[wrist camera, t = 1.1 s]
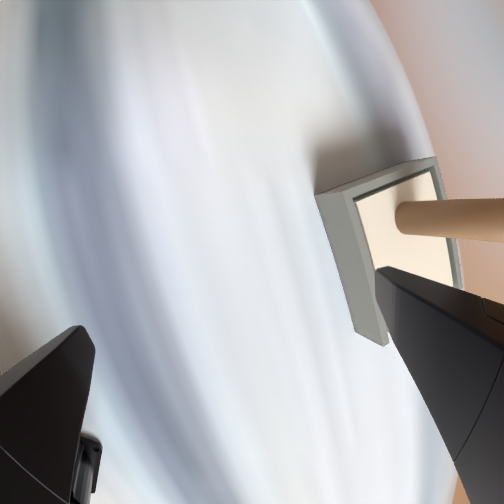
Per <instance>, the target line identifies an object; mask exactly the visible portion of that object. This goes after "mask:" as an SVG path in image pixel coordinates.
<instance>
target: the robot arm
mask: <svg viewBox="0 0 504 504" xmlns="http://www.w3.org/2000/svg"><path fill="white" fill-rule="evenodd" d="M375 297H376V301H377V304H378V306H379V308H380V311H381V313H382V315H383V318H384V320H385V323H386V325H387V328H388V330H389V333H390V335H391V337H392V340H393V342H394V344H395V346H396V348H397V350H398V351H399V353H400V355H401V357H402V359H403V361H404V363H405V364H406V366H407V368H408V370H409V372H410V374H411V376H412V378H413V380H414V381H415V383H416V385H417V387H418V389H419V391H420V393H421V395H422V397H423V399H424V401H425V403H426V405H427V407H428V409H429V411H430V413H431V415H432V417H433V419H434V421H435V423H436V425H437V428H438V430H439V432H440V434H441V436H442V438H443V440H444V443H445V445H446V447H447V449H448V451H449V453H450V456H451V458H452V460H453V462H454V465H455V467H456V470H457V472H458V474H459V477H460V479H461V482H462V484H463V486H464V489H465V491H466V494H467V496H468V499H469V501H470V504H504V305H503V304H500V303H497V302H494V301H491V300H489V299H486V298H481V297H480V296H477V295H474V294H471V293H468V292H466V291H463V290H460V289H457V288H454V287H451V286H448V285H445V284H442V283H439V282H436V281H433V280H430V279H427V278H424V277H421V276H418V275H415V274H412V273H409V272H406V271H403V270H400V269H397V268H394V267H391V266H385V267H381V268H377V269H376V270H375ZM94 358H95V346H94V344H93V342H92V340H91V338H90V337H89V335H88V333H87V331H86V329H85V328H84V327H83V326H81V325H78V326H72V327H70V328H68V329H67V330H65V331H64V332H62V333H61V334H60V335H58V336H57V337H55V338H54V339H52V340H51V341H49V342H48V343H47V344H45V345H44V346H42V347H41V348H39V349H38V350H36V351H35V352H34V353H32V354H31V355H29V356H28V357H27V358H25V359H24V360H22V361H21V362H19V363H18V364H17V365H15V366H14V367H12V368H11V369H10V370H8V371H7V372H5V373H4V374H3V375H1V376H0V504H90V495H91V493H95V490H96V483H97V477H98V471H99V465H100V460H101V454H102V445H101V444H100V443H97V442H94V441H91V440H88V439H85V438H82V437H80V433H81V428H82V423H83V418H84V414H85V409H86V405H87V400H88V396H89V391H90V385H91V378H92V371H93V364H94ZM94 447H96V448H98V449H95V448H94Z"/></svg>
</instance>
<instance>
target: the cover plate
mask: <svg viewBox="0 0 504 504" xmlns="http://www.w3.org/2000/svg"><path fill="white" fill-rule="evenodd" d="M353 202H354V205H355V208H356V211H357V215H358V218H359V221H360V225H361V228H362V232H363V235H364V239H365V242H366V246H367V250H368V253H369V257H370V261H371V265H372V268H373V272H374V276H375V270H376V269H377V268H381V267H385V266H391V267H394V268H397V269H400V270H403V271H406V272H409V273H412V274H415V275H418V276H421V277H424V278H427V279H430V280H433V281H436V282H439V283H442V284H445V285H448V286H451V287H452V286H453V280H452V273H451V266H450V260H449V254H448V248H447V243H446V238H457V239H469V240H480V241H492V242H501V243H504V198H501V199H500V198H499V199H458V200H457V199H455V200H437V197H436V193H435V189H434V185H433V181H432V177H431V174H430V172H422V173H419V174H417V175H414V176H412V177H409V178H407V179H404V180H402V181H399V182H397V183H395V184H392V185H390V186H387V187H385V188H382V189H380V190H378V191H375V192H373V193H370V194H368V195H365V196H363V197H360V198H358V199H356V200H353ZM385 324H386V323H385ZM386 329H387V332H389V330H388V328H387V325H386Z"/></svg>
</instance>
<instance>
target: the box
mask: <svg viewBox="0 0 504 504" xmlns="http://www.w3.org/2000/svg"><path fill="white" fill-rule="evenodd" d="M422 172H430V174H431V177H432V181H433V185H434V189H435V193H436V197H437V200H447V195H446V191H445V187H444V183H443V179H442V176H441V172H440V168H439V165H438V161H437V158H436V156H434V157H429V158H423V159H418V160H412V161H407V162H403V163H401V164H398V165H395V166H392V167H390V168H387V169H384V170H381V171H379V172H376V173H373V174H370V175H368V176H365V177H362V178H360V179H357V180H354V181H352V182H349V183H346V184H344V185H341V186H338V187H336V188H333V189H330V190H328V191H325V192H322V193H320V194H317V195H315V199H316V202H317V205H318V208H319V211H320V214H321V217H322V220H323V223H324V226H325V229H326V233H327V236H328V239H329V242H330V245H331V248H332V252H333V255H334V258H335V261H336V265H337V268H338V271H339V275H340V278H341V282H342V285H343V289H344V292H345V296H346V299H347V303H348V306H349V310H350V314H351V318H352V321H353V325H354V329H355V332H356V333H358V334H360V335H362V336H364V337H366V338H367V339H369V340H371V341H373V342H375V343H377V344H379V345H381V346H383V347H384V346H385V345H387V344H388V343H389V339H388V334H387V329H386V324H385V320H384V318H383V315H382V313H381V311H380V308H379V306H378V304H377V301H376V297H375V276H374V272H373V268H372V265H371V261H370V257H369V253H368V250H367V246H366V242H365V239H364V235H363V232H362V228H361V225H360V221H359V218H358V215H357V211H356V208H355V205H354V202H353V200H356V199H358V198H360V197H363V196H365V195H368V194H370V193H373V192H375V191H378V190H380V189H382V188H385V187H387V186H390V185H392V184H395V183H397V182H399V181H402V180H404V179H407V178H409V177H412V176H414V175H417V174H419V173H422ZM446 243H447V248H448V254H449V260H450V266H451V273H452V280H453V286H452V287H454V288H457V289H461V288H462V287H463V286H462V278H461V270H460V263H459V256H458V250H457V244H456V238H446Z"/></svg>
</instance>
